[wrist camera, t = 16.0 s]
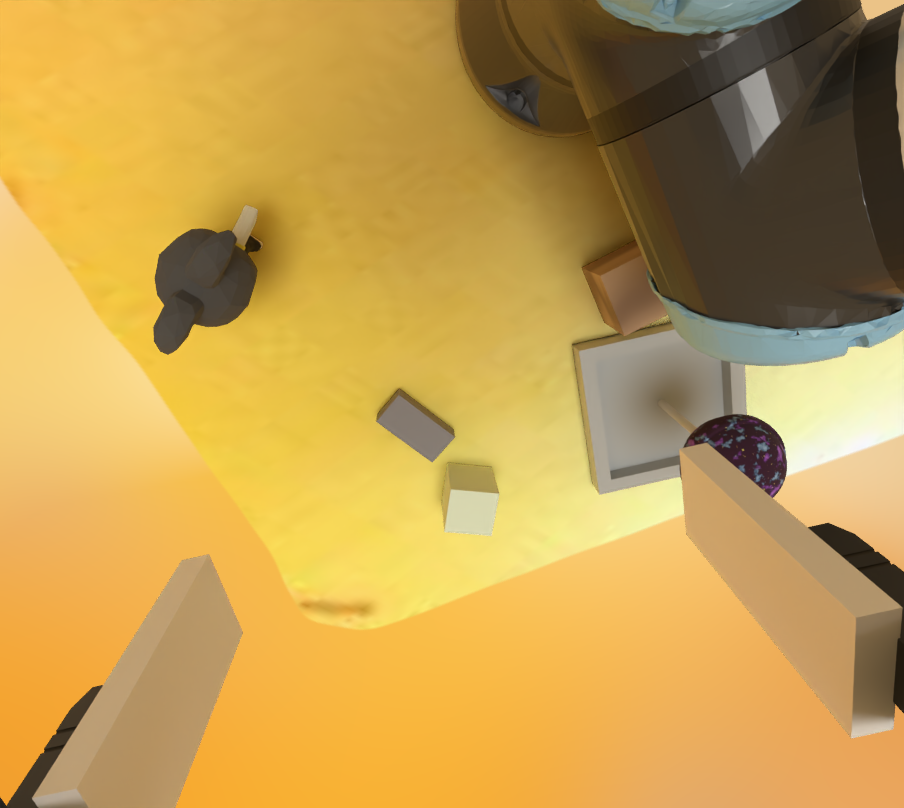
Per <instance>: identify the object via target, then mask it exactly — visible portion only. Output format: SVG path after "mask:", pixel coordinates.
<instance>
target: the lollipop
mask: <svg viewBox="0 0 904 808" xmlns="http://www.w3.org/2000/svg"><path fill="white" fill-rule="evenodd" d="M658 405H659V406H660V407H661V408H662V409H663V410H664V411H665V412H667V413H668V414H669V415H670V416H671V417H672V418H673V419H675V420H676V421H677V422H678V423H679V424H680V425H681V426H683V427H684V428H685V429H686V430H687V431H688V432H689V433H691V435H690V436H689V437H688V439H687V440H686V442H685V444H684V447H683V448H686V447H690V446H695V445H699V444H704V443H708V444H709V445H710V446H711V447H713V448H714V449H715V450H716V451H717V452H718V453H720V454H721V455H722V456H723V457H724V458H726V459H727V460H728V461H729V462H730V463H732V464H733V465H734V466H735V467H736V468H737V469H739V470H740V471H741V472H742V473H743V474H745V475H746V476H747V477H748V478H749V479H751V480H752V481H753V482H754V483H755V484H756V485H758V486H759V487H760V488H761V489H762V490H764V491H765V492H766V493H767V494H768V495H770V496H771V497H772V498H773V497H774V496H775V495H776V494H777V493H778V491H779V490H780V488H781V487H782V485H783V482H784V480H785V477H786V471H787V461H786V451H785V447H784V443H783V441H782V439H781V437H780V436H779V434H778V433H777V432H776V431H775V430H774V429H773V428H772V427H771V426H770V425H768V424H767V423H765V422H764V421H762V420H760V419H758V418H755V417H753V416H749V415H743V414H731V415H726V416H722V417H718V418H715V419H712V420H709V421H707V422H705V423H703V424H702V425H700V426H699V427H698V428H697V427H696V426H694V425H693V424H692V423H691V422H690V421H688V420H687V419H686V418H685V417H684V416H682V415H681V414H680V413H679V412H678V411H676V410H675V409H674V408H673V407H672V406H670V405H669V404H668V403H667V402H666V401H664V400H659V402H658ZM680 476H681V465H680ZM681 480H682V477H681Z"/></svg>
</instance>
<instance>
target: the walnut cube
mask: <svg viewBox="0 0 904 808" xmlns="http://www.w3.org/2000/svg"><path fill="white" fill-rule="evenodd" d="M647 269H648V268H647V266H646V263H645V261H644V259H643V256H642V254H641V251H640V249H639V246H638V244H637V242H636V240H635V241H633V242H631V243H629V244H627V245H625V246H623V247H621V248H619V249H617V250H615V251H613V252H611V253H609V254H607V255H606V256H604V257H602V258H600V259H598V260H596V261H594V262H592V263H590V264H588V265H586V266H584V267H582V270H583V272H584V275H585V277H586V280H587V282H588V284H589V287H590V289H591V292H592V294H593V296H594V299H595V301H596V304H597V306H598V309H599V311H600V313H601V316H602V318H603V321H604V323H606V324H607V325H609V326H610V327H612V328H613V329H615V330H616V331H618V332H619V333H621V334H622V335H624V336H626V335H628V334H630V333H632V332H634V331H636V330H638V329H640V328H642V327H644V326H646V325H648V324H650V323H652V322H654V321H656V320H658V319H660V318H662V317H664V316H666V315H668V314H667V312H666V309H665V307H664V305H663V303H662V301H660V299H659V298H658V297H657V295H656V294H655V293H654V292H653V291H652V289H651V287H650V284H649V281H648V278H647V274H646V272H647Z"/></svg>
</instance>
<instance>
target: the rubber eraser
mask: <svg viewBox="0 0 904 808" xmlns="http://www.w3.org/2000/svg"><path fill="white" fill-rule="evenodd" d="M376 422H377V423H379V424H380V425H382V426H383V427H384V428H386V429H387V430H388V431H390V432H391V433H393V434H394V435H395V436H397V437H398V438H399V439H401V440H402V441H404V442H405V443H406V444H408V445H409V446H410V447H412V448H413V449H415V450H416V451H417V452H419V453H420V454H421V455H423V456H424V457H426V458H427V459H428V460H430V461H431V462H433V461H434V460H435V459H436V458H437V457H438V456H439V454H440V453H441V452H442V451H443V450H444V449H445V448H446V447H447V445H448V444H449V443H450V442H451V441H452V440H453V439H454V438H455V435H454V429H452V428H451V427H450V426H448V425H447V424H446V423H444V422H443V421H442V420H440V419H439V418H438V417H436V416H435V415H434V414H432V413H431V412H430V411H428V410H427V409H426V408H425V407H423V406H422V405H421V404H419V403H418V402H417V401H415V400H414V399H413V398H411V397H410V396H409V395H407V394H406V393H405V392H403V391H402V390H401V389H399V390H398V391H397V392H396V393H395V394H394V395H393V397H392V398H391V399H390V400H389V401H388V403H387V404H386V405H385V406H384V407H383V408H382V410H381V411H380V412H379V413H378V415H377V421H376Z"/></svg>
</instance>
